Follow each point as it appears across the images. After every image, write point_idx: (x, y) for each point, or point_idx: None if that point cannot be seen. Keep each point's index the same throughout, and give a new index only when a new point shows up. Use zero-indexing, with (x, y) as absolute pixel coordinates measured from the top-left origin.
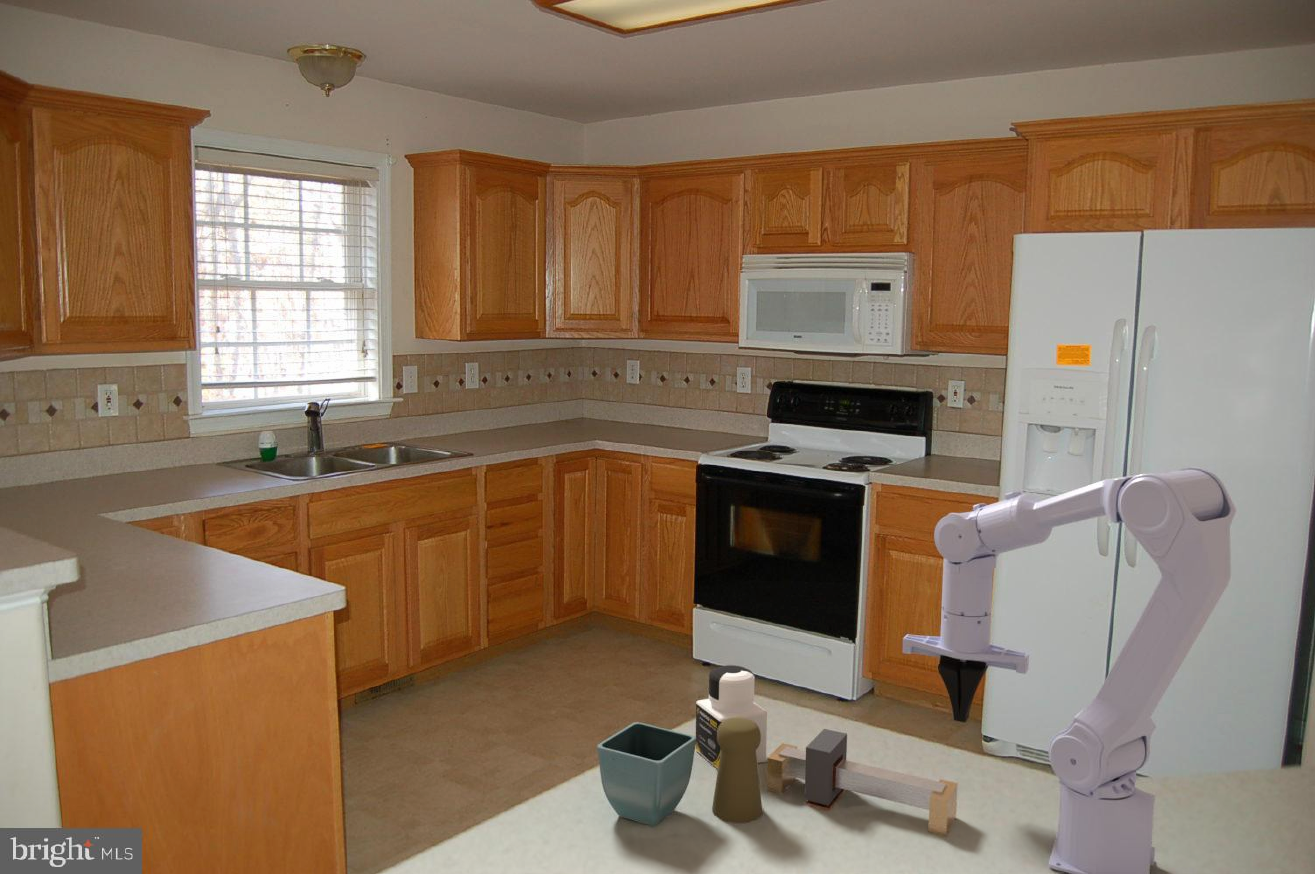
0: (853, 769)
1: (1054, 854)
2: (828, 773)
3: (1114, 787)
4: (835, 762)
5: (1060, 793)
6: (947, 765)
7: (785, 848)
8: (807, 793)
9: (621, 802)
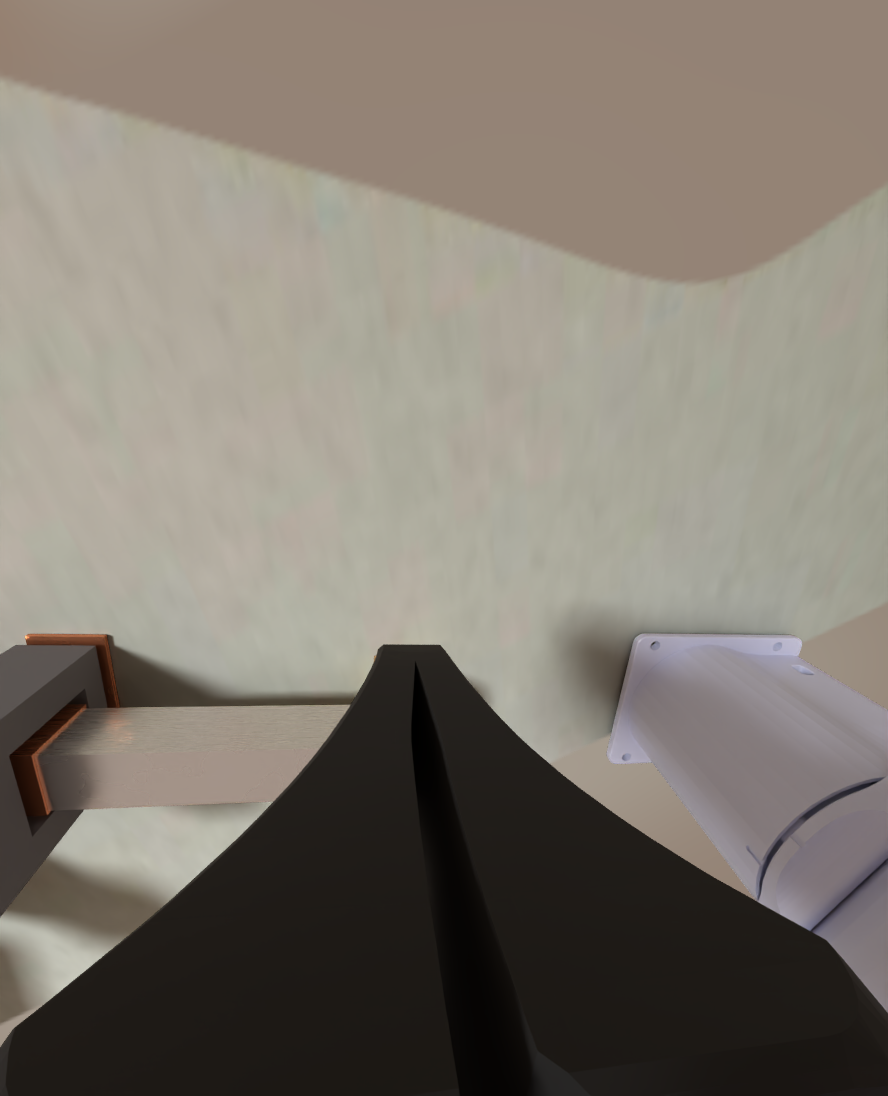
0: (105, 797)
1: (622, 727)
2: (50, 848)
3: None
4: (25, 792)
5: (722, 837)
6: (328, 339)
7: (132, 915)
8: None
9: None
